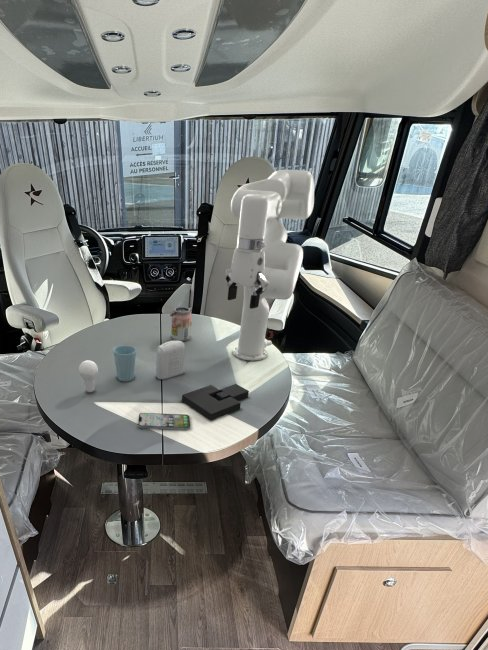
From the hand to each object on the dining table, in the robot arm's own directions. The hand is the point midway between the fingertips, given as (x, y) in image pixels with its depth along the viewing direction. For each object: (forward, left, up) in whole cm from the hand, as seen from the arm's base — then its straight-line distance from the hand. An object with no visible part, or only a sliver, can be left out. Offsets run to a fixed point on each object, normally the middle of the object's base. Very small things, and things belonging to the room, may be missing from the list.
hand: (242, 303), depth 137 cm
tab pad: (+10, +9, -26) cm, 29 cm away
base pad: (+18, +9, -26) cm, 33 cm away
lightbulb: (+45, -20, -26) cm, 56 cm away
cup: (+30, -22, -26) cm, 46 cm away
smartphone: (+36, +9, -26) cm, 46 cm away
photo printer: (+16, -15, -26) cm, 34 cm away
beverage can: (-8, -40, -26) cm, 49 cm away
